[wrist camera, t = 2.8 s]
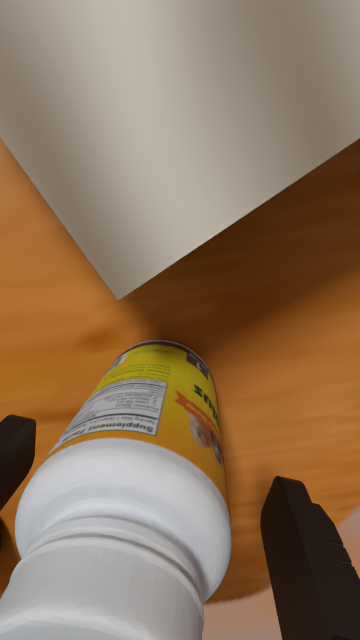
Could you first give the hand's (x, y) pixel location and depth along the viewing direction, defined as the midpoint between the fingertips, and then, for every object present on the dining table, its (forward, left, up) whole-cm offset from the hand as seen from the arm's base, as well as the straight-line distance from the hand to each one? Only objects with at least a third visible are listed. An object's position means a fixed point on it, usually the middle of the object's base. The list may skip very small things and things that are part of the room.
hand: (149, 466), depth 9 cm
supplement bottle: (0, 0, -6) cm, 6 cm away
